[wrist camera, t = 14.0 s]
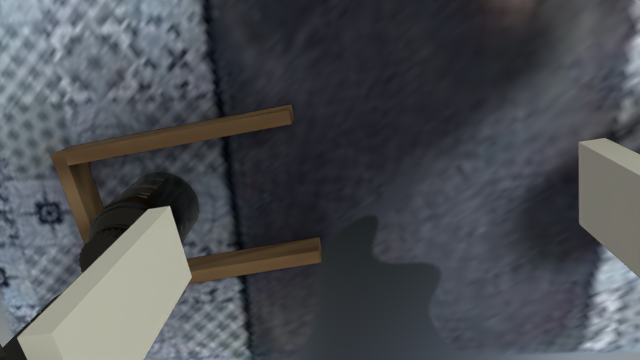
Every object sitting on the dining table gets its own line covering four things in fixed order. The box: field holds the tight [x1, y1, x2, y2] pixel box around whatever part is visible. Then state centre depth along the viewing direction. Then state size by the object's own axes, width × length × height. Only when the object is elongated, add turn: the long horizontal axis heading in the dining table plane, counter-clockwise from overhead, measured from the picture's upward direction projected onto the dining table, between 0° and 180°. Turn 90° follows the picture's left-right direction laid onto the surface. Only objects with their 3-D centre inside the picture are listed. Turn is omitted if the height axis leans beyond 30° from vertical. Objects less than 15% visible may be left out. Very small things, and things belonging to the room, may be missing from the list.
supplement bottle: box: [79, 172, 199, 273], centre depth 39 cm, size 7×7×12 cm
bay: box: [51, 105, 322, 284], centre depth 43 cm, size 17×22×5 cm
